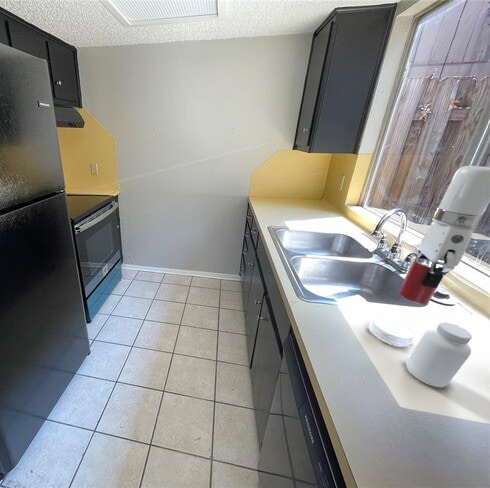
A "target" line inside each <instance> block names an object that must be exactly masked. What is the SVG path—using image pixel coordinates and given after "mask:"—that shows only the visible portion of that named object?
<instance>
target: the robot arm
mask: <svg viewBox="0 0 490 488" xmlns="http://www.w3.org/2000/svg"><path fill="white" fill-rule="evenodd" d="M489 204H490V166H481V165H464V166H461V167H459V168H458V169H457V170H456V172H455V173H454V175H453V177H452V179H451V181H450V183H449V185H448V188H447V189H446V191H445V193H444V195H443V197H442V199H441V201H440V203H439V205H438V207H437V209H436V211H435V213H434V215H433V217H432V219H431V220H432V223H431V224H430V226H429V228H428V229H427V231H426V233H425V234H424V236H423V238H422V240H421V241H420V244H419V246H418V251H417V252H418V254H417V255H416V257H415V259H419V258H421V259H428V260H430V261H431V262H432V263H431V267H430V271H429V272H428V271H427V272H426V274H425V276H424V278H423V280H422V282H421V285H423V286H427V287H432V288H437V289H438V287H439V285H440V284H441V282H442V280H443V278H444V277H445V276H446V275H447V274H448V273H449V272H452V271H454V269H455V267H457V266H458V265H459V264H460V263H461V261H462V259H463V257H464V255H465V253H466V251H467V248H468V247H469V245H470V242H471V239H472V237H473V232H474V229H475V228H476V226H477V225H478V223H479V222H480V220H481V218H482V216H483V214H484V213H485V211H486V210H487V207H488V206H489ZM436 265H443V266H442V267H438V268H436ZM441 279H442V280H441ZM440 281H441V282H440ZM437 286H438V287H437Z"/></svg>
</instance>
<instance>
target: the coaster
mask: <svg viewBox="0 0 490 488" xmlns="http://www.w3.org/2000/svg"><path fill="white" fill-rule="evenodd" d="M368 330H369V331H370V333H371V334H372V335H373V337H375V338H376V339H378V340H379V341H381V342H383V343H385V344H388V345H390V346H393V347H398V348H406V347H409V346H410V345H411V343H412V341H413V340H414V338H415V334H414V332H413V331H412V329H411V328H409V327H408V326H407V325H406V324H404V323H402V322H401V321H399V320H398V319H394V318H392V317H388V316H384V315H379V316H378V315H376V316H374V317H372V318H371V321H370V323H369V324H368Z"/></svg>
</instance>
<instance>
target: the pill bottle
mask: <svg viewBox="0 0 490 488" xmlns="http://www.w3.org/2000/svg"><path fill="white" fill-rule="evenodd" d="M471 339H472V334H471V333H470V332H469V331H468V330H466V329H465V328H464V327H461V326H459V325H457V324H455V323H451V322H440V323H439V324H438V325H437V327H436V328H431V329H428V330H426V331H425V332H424V333H423V335H422V336H421V338H420V339H419V341H418V343H417V345H416V346H415V348H414V349H413V351H412V352H411V354H410V356H409V357H408V359H407V360H406V364H405V366H406V369H407V371H408V372H409V373H410V374H411V375H412V376H414V377H415V378H416V379H417V380H418V381H420V382H422V383H424V384H425V385H429V386H430V387H434V388H445V387H447V386H448V385H449V384H450V382H451V381H452V380H453V378H454V377H455V376H456V375H457V374H458V372H459V370H460V369H461V368H462V367H463V365H464V364H465V362H466V361H467V360H468V358H469V357H471V354H472V349H471V346H470V345H469V342H470V341H471Z"/></svg>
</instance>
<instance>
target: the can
mask: <svg viewBox="0 0 490 488" xmlns="http://www.w3.org/2000/svg"><path fill="white" fill-rule="evenodd" d="M431 263H432V262H431V261H430V260H428V259H421V258H419V259H416V258H415V259H413V262H412V264H411V266H410V268H409V269H408V272H407V274H406V275H405V277H404V279H403V281H402V283H401V285H400V286H399V289H398V295H399V296H401V297H402V298H403V299H405V300H407V301H409V302H413V303H415V304H422V305H427V304H429V302H430V301H431V299H432V298H433V295H434V294H435V292H436V291H437V289H438V287H439V285H438V286H437V288H432V287H427V286H423V285H421V282H422V280H423V278H424V276H425V274H426V272H427V271H428V272H429V271H430V267H431ZM442 266H443V265H436V268H438V267H442ZM442 280H443V278H442V279H441V281H440V283H441V282H442Z"/></svg>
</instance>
